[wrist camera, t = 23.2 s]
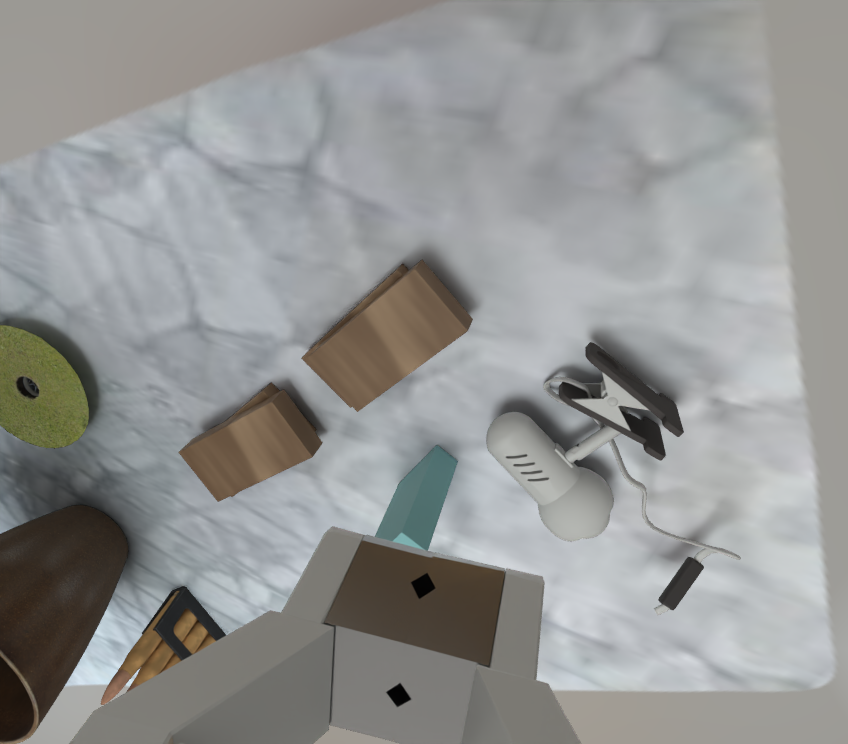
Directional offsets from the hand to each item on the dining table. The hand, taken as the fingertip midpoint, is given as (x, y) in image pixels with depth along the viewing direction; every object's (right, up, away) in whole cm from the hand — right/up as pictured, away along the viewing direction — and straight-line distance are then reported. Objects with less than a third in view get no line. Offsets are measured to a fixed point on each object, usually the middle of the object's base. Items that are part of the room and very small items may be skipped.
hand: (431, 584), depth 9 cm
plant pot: (-32, -13, +53) cm, 63 cm away
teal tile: (0, -5, +40) cm, 41 cm away
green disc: (-32, +2, +46) cm, 56 cm away
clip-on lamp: (+19, -11, +35) cm, 42 cm away
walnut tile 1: (+1, +8, +31) cm, 32 cm away
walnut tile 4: (-9, -1, +38) cm, 39 cm away
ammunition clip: (-21, -22, +55) cm, 63 cm away
